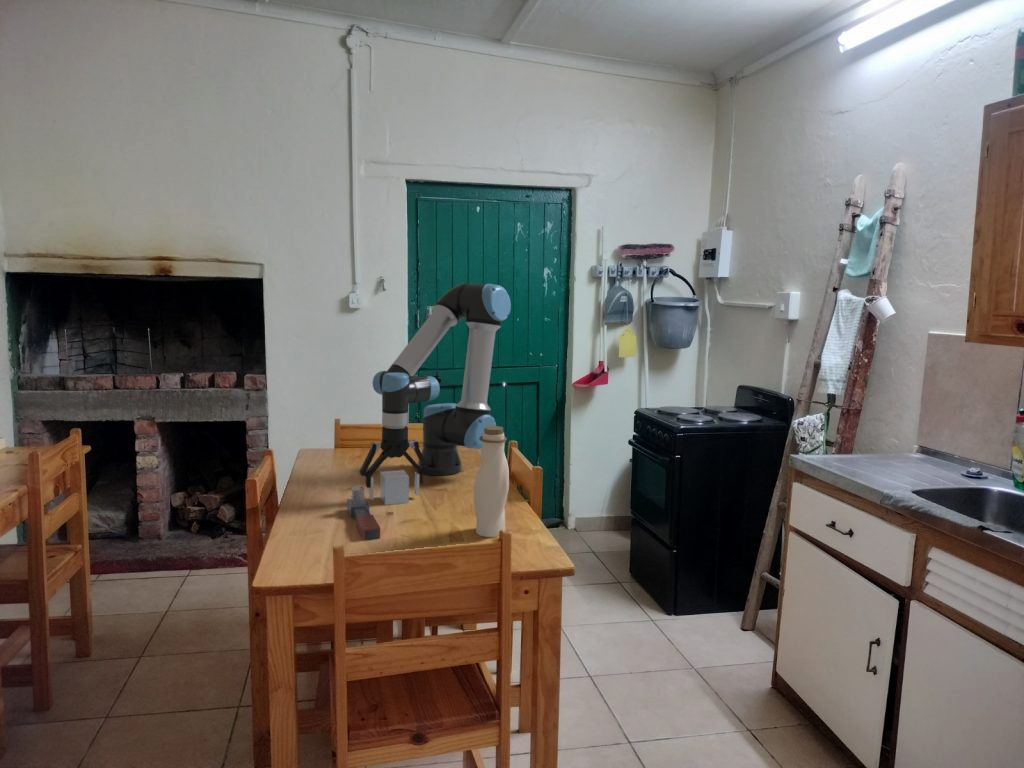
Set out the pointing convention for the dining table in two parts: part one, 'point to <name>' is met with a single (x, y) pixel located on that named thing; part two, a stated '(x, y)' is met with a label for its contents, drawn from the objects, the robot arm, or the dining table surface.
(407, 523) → the dining table surface
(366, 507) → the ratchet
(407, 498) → the grey stone cube
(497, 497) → the water bottle
